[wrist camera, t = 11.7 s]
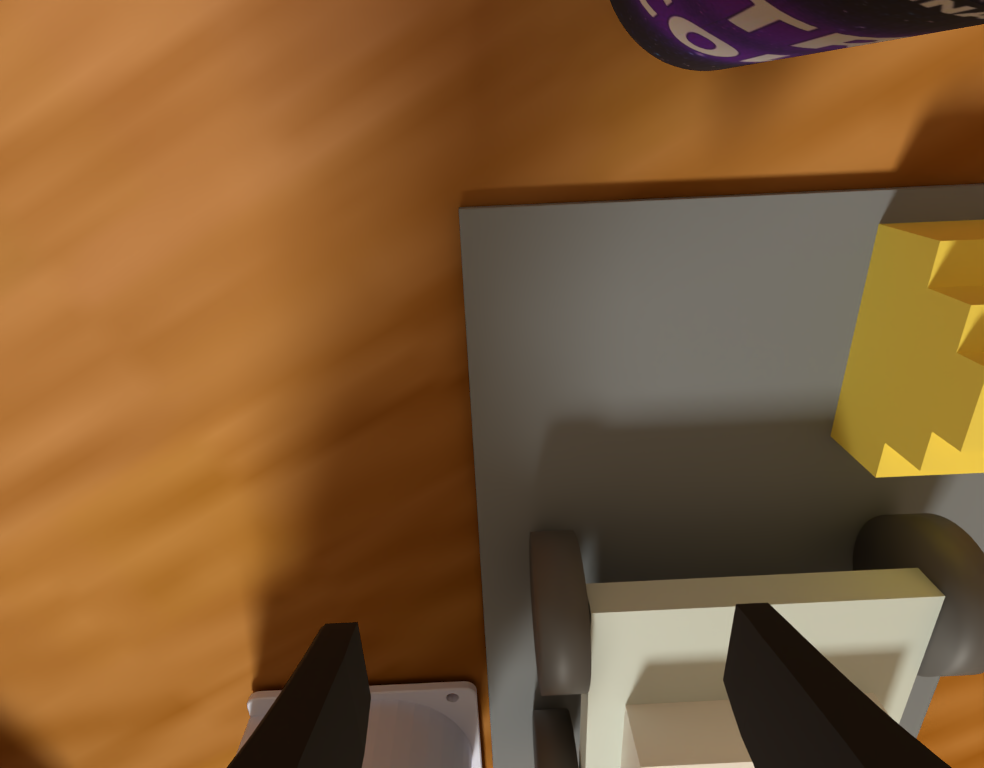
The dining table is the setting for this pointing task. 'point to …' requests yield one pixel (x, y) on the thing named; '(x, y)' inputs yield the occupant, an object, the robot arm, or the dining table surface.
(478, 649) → the dining table surface
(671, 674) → the trolley
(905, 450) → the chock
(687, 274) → the mat
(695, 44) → the beverage can
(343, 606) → the dining table surface
